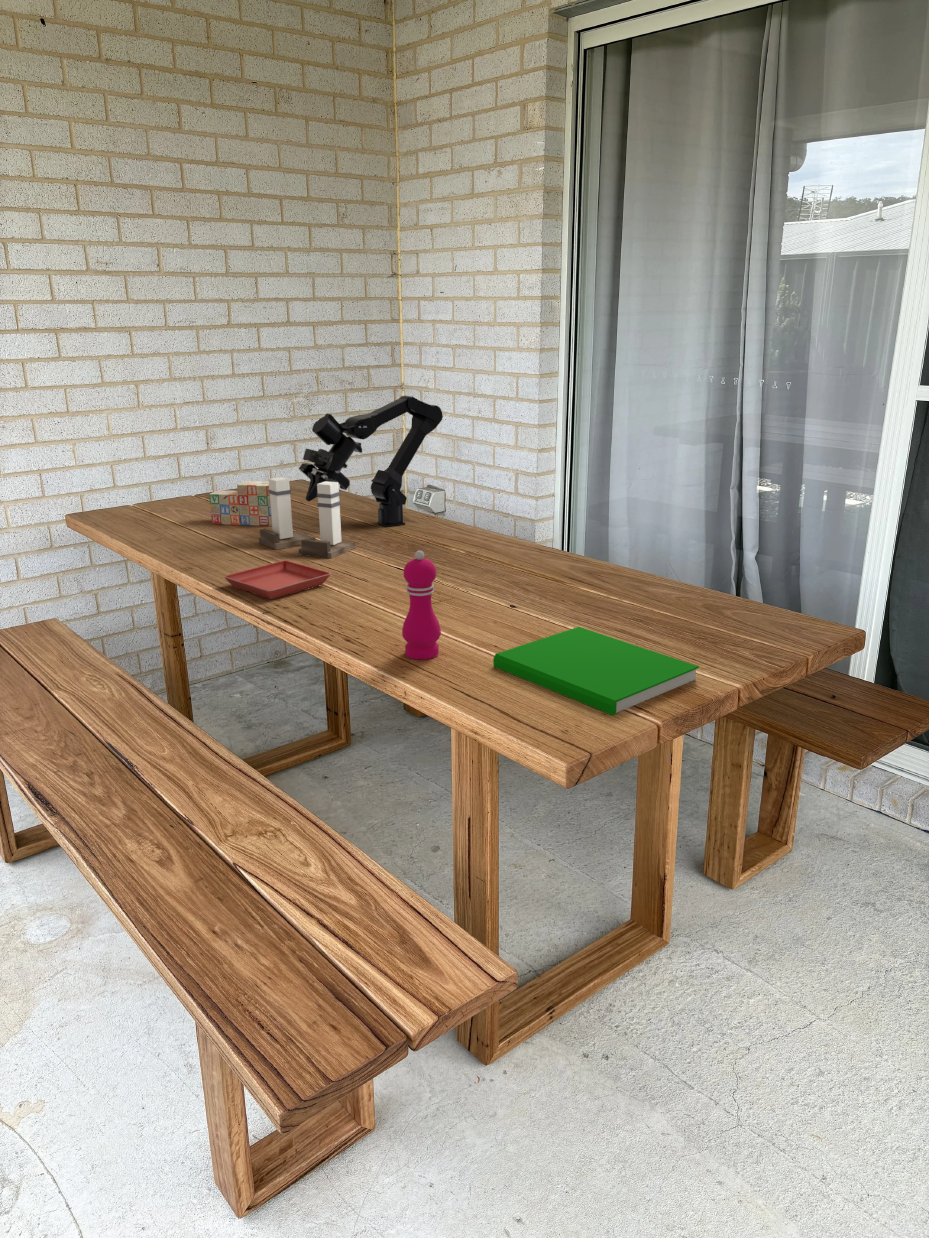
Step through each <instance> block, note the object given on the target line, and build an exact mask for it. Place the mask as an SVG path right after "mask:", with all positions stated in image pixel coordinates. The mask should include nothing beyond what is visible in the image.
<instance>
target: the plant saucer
mask: <svg viewBox="0 0 929 1238" xmlns="http://www.w3.org/2000/svg"><path fill="white" fill-rule="evenodd" d="M331 575H332V574H331V572H329V571H326V570H322V569H318V568H315V567H312V566H307V565H304V564H300V563H297V562H293V561H289V560H280V561H277V562H273V563H267V564H265V565H261V566H256V567H253V568H250V569H249V568H248V569H245V570H243V571H238V572H234V573H230V574H226V575H224V576H223V578H224V579H225V580H226V581H227V582H228V583H229V584H230V585H231V586H233V587H234V588H235V587H237V588H236V589H238V588H240V589H239V590H241V589H243V590H242V591H244V590H246V591H245V592H247V591H249V593H250V592H251V593H250V594H253V593H255V594H254V595H256V594H258V595H257V596H259V595H260V597H262V596H263V598H265V597H266V599H268V600H269V599H270V600H274V599H275V600H276V599H279V598H282V597H285V595H286V596H289V595H292V593H293V594H296V593H299V592H298V591H300V592H302V591H301V590H304V591H306V590H305V589H307V590H309V589H308V588H311V589H313V588H312V587H314V588H317V587H316V586H318V587H320V586H319V585H321V586H322V585H323V584H324V583H325V582H326V581H327V580H328V578H330V576H331ZM295 592H296V593H295ZM288 594H289V595H288ZM278 597H279V598H278Z"/></svg>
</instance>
